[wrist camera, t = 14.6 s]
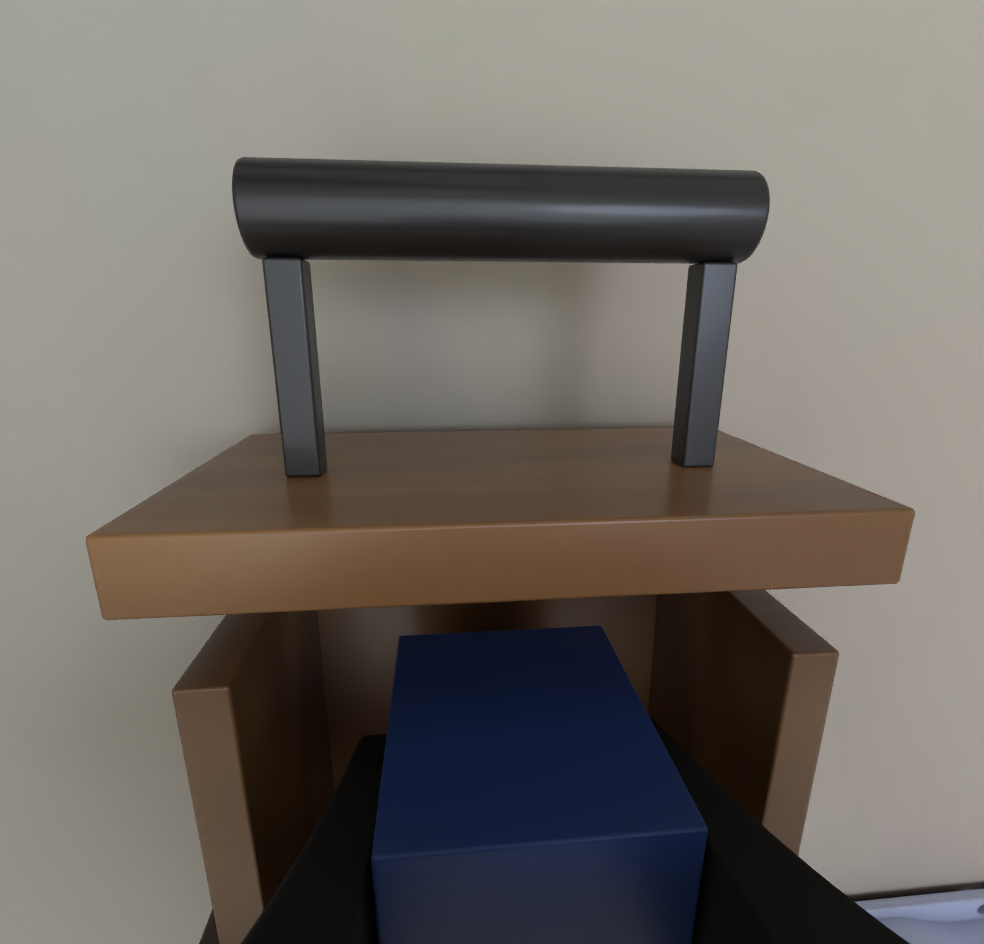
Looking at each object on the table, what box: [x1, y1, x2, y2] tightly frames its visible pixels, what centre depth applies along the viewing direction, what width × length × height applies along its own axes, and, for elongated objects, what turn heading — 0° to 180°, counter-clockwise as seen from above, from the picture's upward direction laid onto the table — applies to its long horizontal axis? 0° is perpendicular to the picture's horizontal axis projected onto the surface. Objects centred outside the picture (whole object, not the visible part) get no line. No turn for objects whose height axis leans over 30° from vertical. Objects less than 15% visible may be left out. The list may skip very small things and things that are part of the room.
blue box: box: [371, 626, 708, 944], centre depth 9 cm, size 4×4×4 cm
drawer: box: [86, 157, 915, 944], centre depth 11 cm, size 18×11×6 cm, turn 0°
